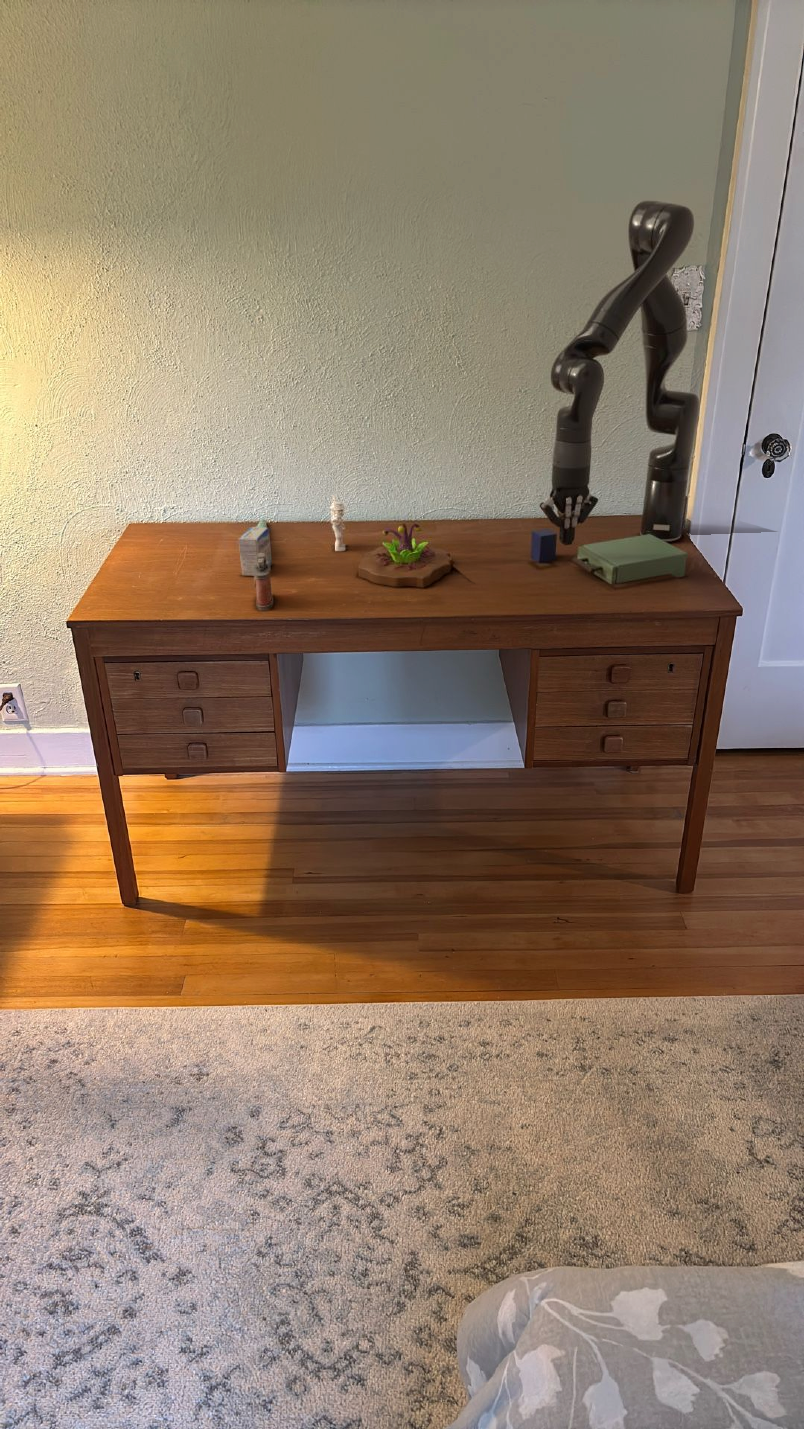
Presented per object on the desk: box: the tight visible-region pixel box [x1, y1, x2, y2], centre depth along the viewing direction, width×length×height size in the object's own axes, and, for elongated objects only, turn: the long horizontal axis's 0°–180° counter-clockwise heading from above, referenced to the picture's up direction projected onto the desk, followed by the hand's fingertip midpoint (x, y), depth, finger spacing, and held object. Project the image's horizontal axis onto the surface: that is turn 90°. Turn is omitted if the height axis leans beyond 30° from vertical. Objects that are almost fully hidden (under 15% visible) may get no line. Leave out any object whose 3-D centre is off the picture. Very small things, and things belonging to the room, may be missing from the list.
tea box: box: [530, 528, 558, 564], centre depth 215 cm, size 4×4×7 cm
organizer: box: [582, 534, 688, 584], centre depth 211 cm, size 17×14×5 cm
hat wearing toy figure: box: [329, 495, 347, 552], centre depth 225 cm, size 9×4×12 cm, turn 1°
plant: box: [357, 523, 453, 589], centre depth 212 cm, size 20×20×11 cm
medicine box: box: [238, 526, 273, 577], centre depth 214 cm, size 8×4×9 cm, turn 168°
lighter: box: [253, 553, 274, 611], centre depth 198 cm, size 8×3×10 cm, turn 5°
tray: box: [571, 545, 617, 585], centre depth 210 cm, size 21×14×4 cm, turn 112°
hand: (566, 543), depth 204 cm, fingers closed
